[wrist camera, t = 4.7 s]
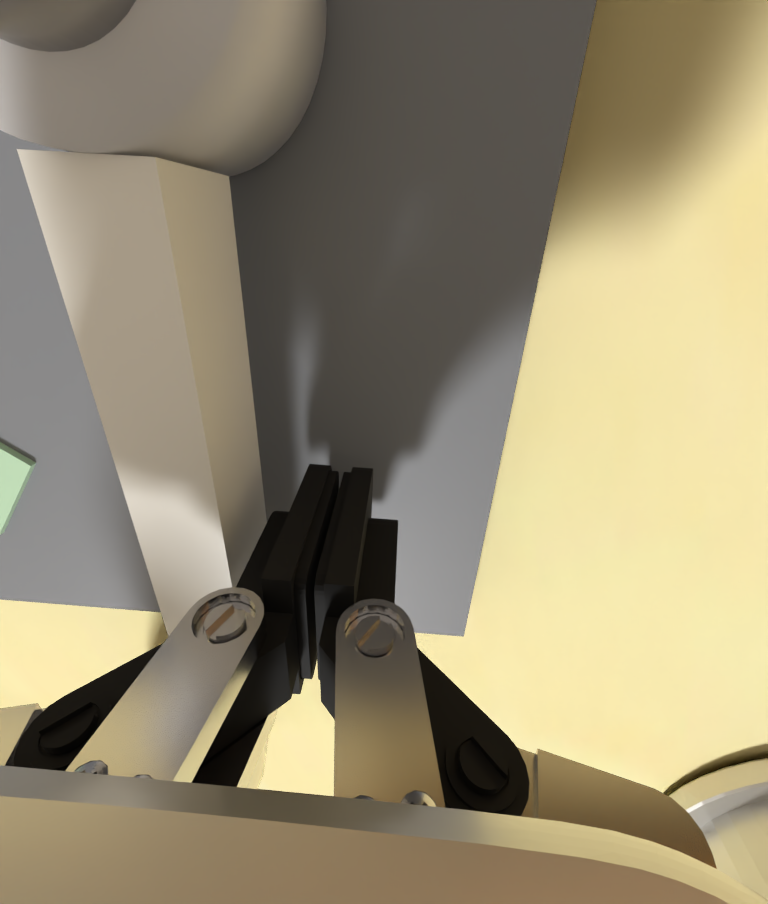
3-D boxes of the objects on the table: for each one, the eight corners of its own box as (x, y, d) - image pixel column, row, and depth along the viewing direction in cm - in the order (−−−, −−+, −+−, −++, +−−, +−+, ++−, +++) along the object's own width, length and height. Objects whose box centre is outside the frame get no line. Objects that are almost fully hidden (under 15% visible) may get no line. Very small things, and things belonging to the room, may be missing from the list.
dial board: (629, -292, 6) (694, -448, 5) (459, 602, 16) (464, 641, 15) (-673, -304, 7) (-958, -443, 6) (-80, 560, 17) (-128, 593, 15)
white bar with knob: (323, -245, 6) (110, -1367, 2) (333, 630, 15) (303, 783, 11) (-27, -254, 6) (-1007, -1320, 2) (194, 618, 15) (113, 765, 11)
